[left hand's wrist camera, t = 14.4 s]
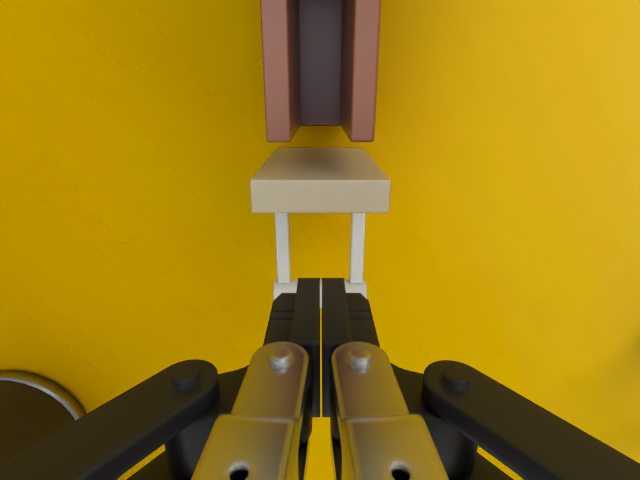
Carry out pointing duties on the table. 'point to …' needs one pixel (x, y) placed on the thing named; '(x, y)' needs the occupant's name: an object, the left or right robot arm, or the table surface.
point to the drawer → (320, 121)
